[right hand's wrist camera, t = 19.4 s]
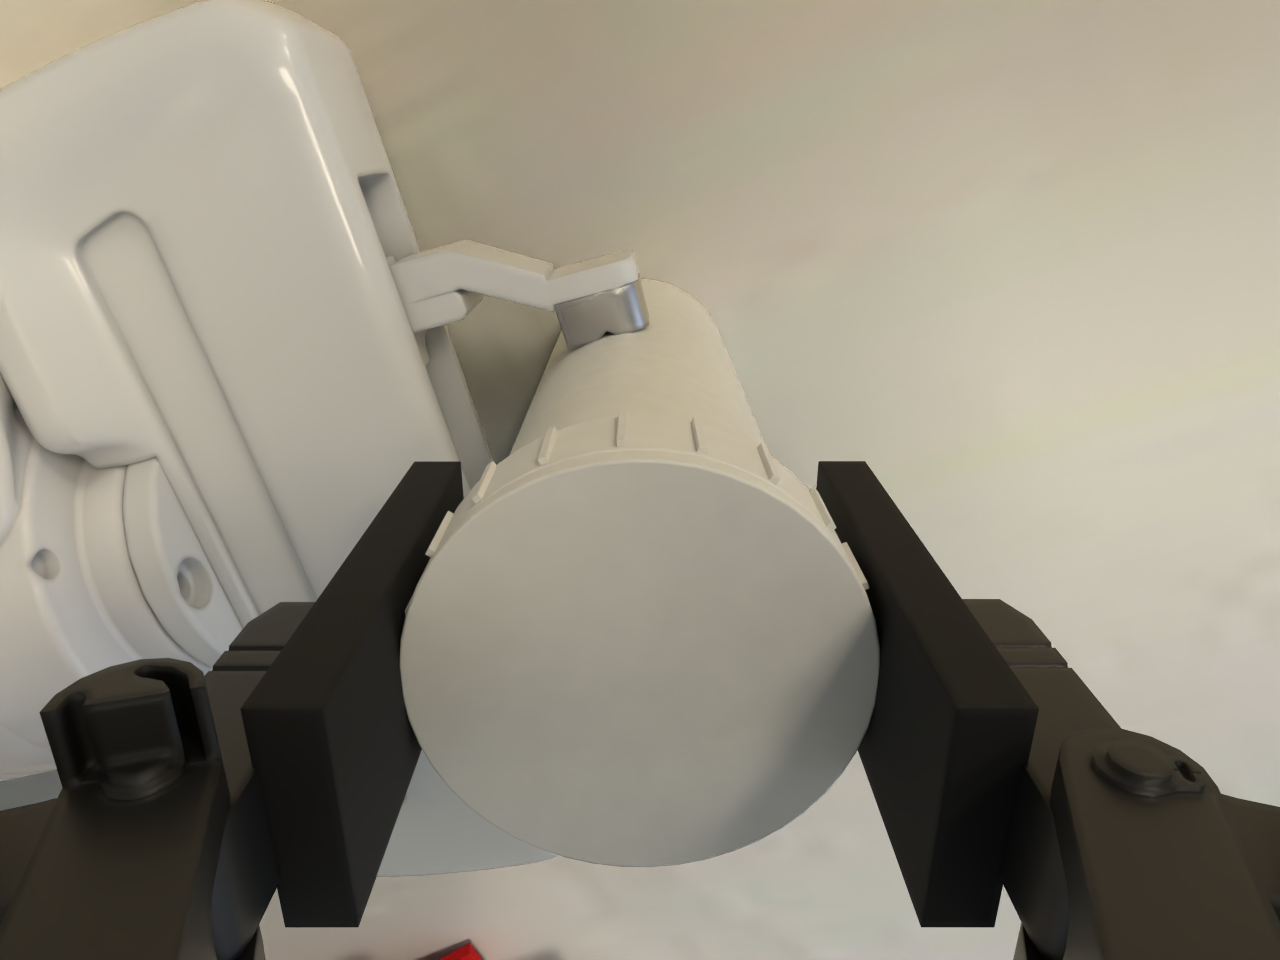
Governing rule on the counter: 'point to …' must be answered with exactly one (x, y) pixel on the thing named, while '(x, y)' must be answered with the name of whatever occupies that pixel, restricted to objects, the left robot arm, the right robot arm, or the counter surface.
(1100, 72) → the counter surface
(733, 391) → the jar
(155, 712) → the right robot arm
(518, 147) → the counter surface
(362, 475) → the left robot arm
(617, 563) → the lid
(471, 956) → the toy
